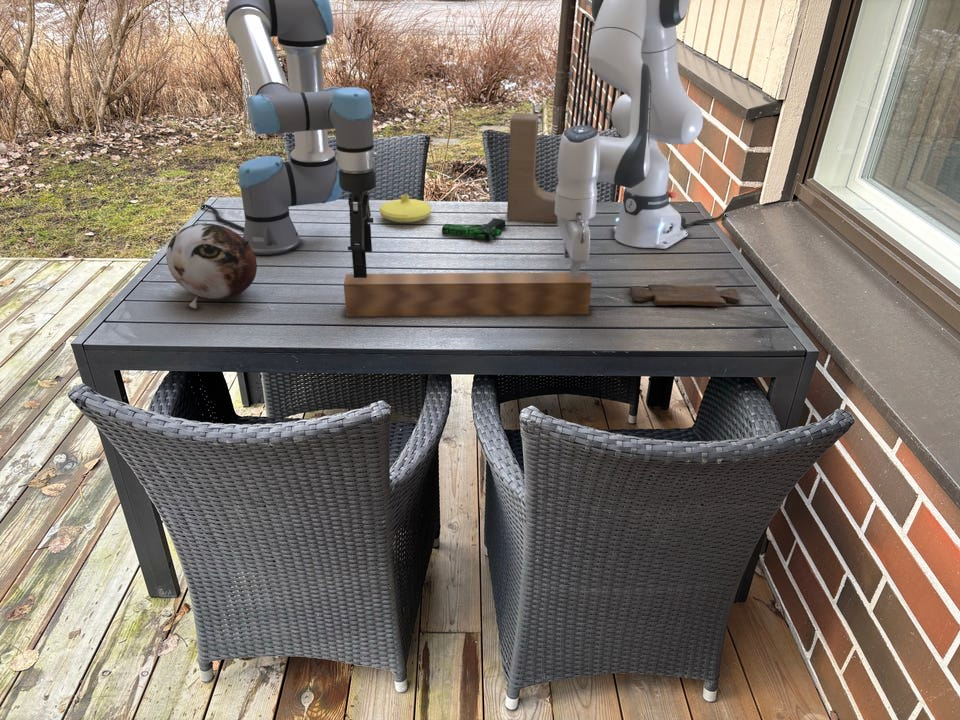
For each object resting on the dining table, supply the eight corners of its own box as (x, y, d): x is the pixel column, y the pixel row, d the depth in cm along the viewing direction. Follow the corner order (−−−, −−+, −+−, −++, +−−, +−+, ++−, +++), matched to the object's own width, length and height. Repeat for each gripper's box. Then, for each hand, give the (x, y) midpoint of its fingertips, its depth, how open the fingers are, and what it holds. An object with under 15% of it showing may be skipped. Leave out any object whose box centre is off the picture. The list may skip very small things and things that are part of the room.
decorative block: (556, 223, 215) (563, 120, 199) (506, 220, 216) (510, 118, 201) (557, 215, 221) (564, 114, 206) (509, 212, 223) (512, 112, 207)
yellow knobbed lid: (403, 206, 226) (402, 184, 222) (442, 217, 218) (442, 194, 215) (368, 220, 215) (367, 197, 211) (408, 231, 207) (407, 208, 203)
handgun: (511, 219, 210) (493, 234, 198) (511, 228, 211) (492, 244, 199) (461, 212, 215) (440, 226, 203) (461, 221, 217) (440, 236, 204)
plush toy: (130, 285, 161) (164, 203, 163) (192, 308, 177) (221, 233, 178) (195, 307, 151) (229, 220, 152) (254, 330, 166) (285, 250, 168)
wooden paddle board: (744, 309, 167) (732, 291, 176) (746, 303, 166) (734, 285, 175) (634, 305, 167) (627, 287, 176) (635, 299, 167) (628, 281, 175)
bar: (346, 316, 161) (343, 284, 157) (349, 305, 166) (346, 273, 162) (588, 314, 164) (591, 282, 160) (584, 303, 169) (587, 272, 164)
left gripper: (370, 188, 136) (376, 288, 148) (379, 151, 157) (384, 241, 169) (330, 188, 136) (339, 288, 147) (345, 151, 157) (352, 241, 168)
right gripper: (599, 223, 144) (593, 285, 152) (581, 190, 162) (577, 247, 169) (568, 223, 144) (564, 285, 151) (554, 191, 161) (551, 248, 169)
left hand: (363, 263), depth 158 cm, fingers open, 13 cm apart
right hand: (571, 265), depth 160 cm, fingers open, 8 cm apart
